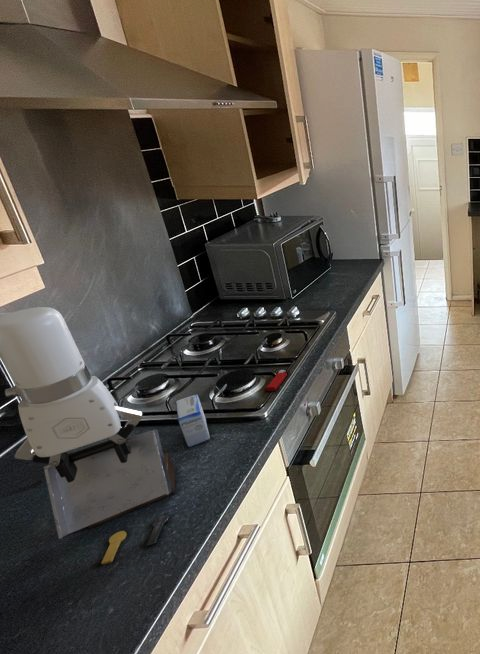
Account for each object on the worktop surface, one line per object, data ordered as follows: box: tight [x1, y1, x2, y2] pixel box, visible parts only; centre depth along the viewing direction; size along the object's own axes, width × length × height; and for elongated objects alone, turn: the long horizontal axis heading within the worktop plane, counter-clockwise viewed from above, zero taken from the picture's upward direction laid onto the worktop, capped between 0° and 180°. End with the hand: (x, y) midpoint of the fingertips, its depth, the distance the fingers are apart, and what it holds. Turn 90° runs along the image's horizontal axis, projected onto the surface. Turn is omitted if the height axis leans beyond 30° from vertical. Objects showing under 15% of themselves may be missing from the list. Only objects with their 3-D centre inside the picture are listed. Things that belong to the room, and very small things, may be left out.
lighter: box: [265, 369, 289, 392], centre depth 119 cm, size 3×1×8 cm
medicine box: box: [175, 394, 211, 448], centre depth 99 cm, size 8×4×9 cm, turn 40°
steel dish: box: [43, 428, 172, 540], centre depth 74 cm, size 15×13×8 cm
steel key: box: [146, 514, 170, 547], centre depth 79 cm, size 2×6×1 cm, turn 21°
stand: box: [87, 452, 176, 529], centre depth 84 cm, size 13×7×5 cm, turn 127°
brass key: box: [100, 530, 128, 566], centre depth 76 cm, size 2×6×1 cm, turn 23°
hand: (99, 466), depth 73 cm, fingers closed on steel dish, 6 cm apart
